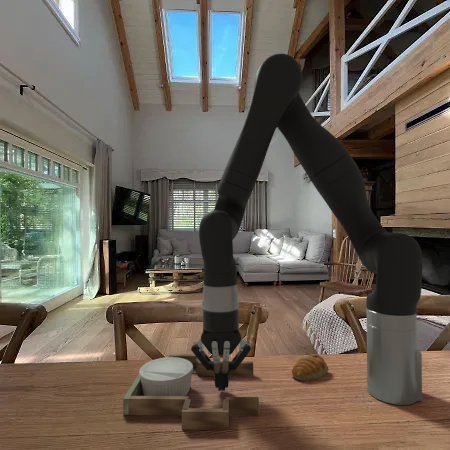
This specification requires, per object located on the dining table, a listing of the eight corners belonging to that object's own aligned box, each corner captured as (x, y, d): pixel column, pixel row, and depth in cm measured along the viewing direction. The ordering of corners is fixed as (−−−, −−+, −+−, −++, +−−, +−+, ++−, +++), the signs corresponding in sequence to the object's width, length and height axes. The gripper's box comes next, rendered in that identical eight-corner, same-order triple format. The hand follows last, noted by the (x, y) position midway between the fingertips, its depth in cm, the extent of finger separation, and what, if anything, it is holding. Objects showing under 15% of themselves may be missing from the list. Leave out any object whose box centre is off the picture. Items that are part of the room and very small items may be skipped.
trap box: (252, 367, 80) (252, 354, 80) (260, 430, 55) (260, 412, 55) (151, 366, 80) (151, 354, 80) (115, 428, 55) (115, 410, 56)
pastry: (309, 387, 70) (309, 369, 70) (284, 377, 75) (283, 360, 75) (330, 373, 77) (330, 357, 77) (305, 365, 82) (305, 349, 82)
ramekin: (142, 412, 61) (142, 384, 61) (136, 385, 71) (136, 361, 71) (199, 400, 65) (199, 374, 65) (186, 376, 75) (186, 354, 75)
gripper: (251, 301, 71) (252, 380, 71) (191, 302, 72) (192, 380, 71) (253, 310, 64) (254, 398, 64) (186, 310, 64) (187, 398, 64)
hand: (221, 388), depth 68 cm, fingers closed
